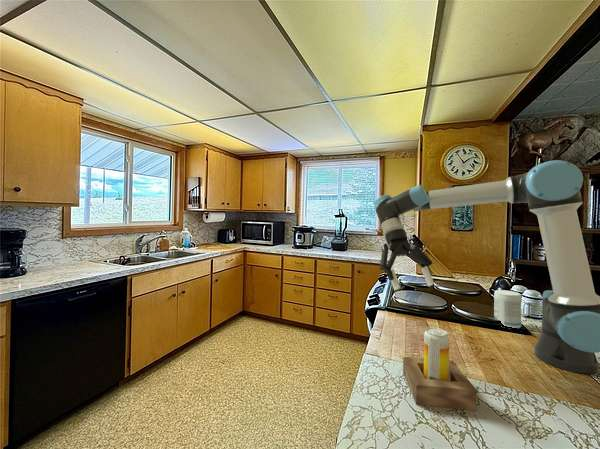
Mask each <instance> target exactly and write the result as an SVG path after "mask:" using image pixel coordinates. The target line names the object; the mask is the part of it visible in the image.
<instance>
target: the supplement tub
mask: <svg viewBox="0 0 600 449" xmlns="http://www.w3.org/2000/svg"><path fill="white" fill-rule="evenodd" d="M521 295H522V294H521V293H519V292H517V291H513V290H504V289H496V290H494V293H493V300H494V301H493V302H494V303H493V311H494V312H493V317H495V318H497V319H498V320H500V321H501V323H502V324H503V325H504V326H507V327H512V328H517V329H520V328H521V327H522V297H521Z"/></svg>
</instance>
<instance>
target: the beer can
mask: <svg viewBox="0 0 600 449" xmlns="http://www.w3.org/2000/svg"><path fill="white" fill-rule="evenodd" d="M423 358H424V377H425V379H431V380H443V381H449V360H450V359H449V358H450V336H449V334H448V332H447V331H446V330H444V329H442V328H437V327H427V328H426V329H425V331H424V333H423Z"/></svg>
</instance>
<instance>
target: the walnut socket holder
mask: <svg viewBox="0 0 600 449" xmlns="http://www.w3.org/2000/svg"><path fill="white" fill-rule="evenodd" d="M402 358H403V362H402V364H403V365H402V367H403V368H402V373H403V376H404V379H405V381H406V383H407V386H408V388H409V390H410V394H411V396H412V398H413V400H414V403H415V405H419V406H425V407H426V406H429V407H438V408H448V409H456V410H467V411H474V412H475V411H476V412H477V411H478V410H477V408H478V407H477V402H478V401H477V398H478V391H477V390H478V389H477V388H476V387H475V386H474V385H473V383H471V381H470V380H469V378H468V377H467V376H466V375H465V374H464V372H463V371H462V370H461V369H460V368H459V367H458V365H457V364H456V362H454V360H450V359H449V381H443V380H431V379H425V377H424V357H423V358H422V357H413V356H412V357H410V356H403V357H402Z"/></svg>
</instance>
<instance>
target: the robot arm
mask: <svg viewBox="0 0 600 449" xmlns="http://www.w3.org/2000/svg"><path fill="white" fill-rule="evenodd" d="M583 183H584V176H583V173H582V171H581V169H580V168H579V167H578V166H577V165H575V164H574V163H572V162H569V161H567V160H557V159H555V160H549V161H545V162H542V163H539V164H537V165H535V166H533V167H532V168H531V169H530V170H529V171H528V172H525V173H523V174H518V175H513V176H512V175H511V176H509V177H507V178H506V179H505V180H499V181H491V182H483V183H477V184H476V183H475V184H469V185H461V186H456V187H448V188H442V189H434V190H427V191H426V190H425V188H424V186H423V185H421V184H418V185H416V186H413V187H412V186H411V188H409V189H407V190H405V191H403V192H401V193H399V194H398V195H395V196H393V197H392V195H390V194H384V195H380V196H378V197H377V198H376V199H375V200H374V201H373V206H374V209H375V213H376V215H377V217H378V221H379V223H380V227H381V230H382V233H383V235H384V238H385V241H386V242H385V243H384V244H383V245H382V246H380V248H381V249H380V250H381V257H380V265H379V270H380V271H381V272H382V271H383V273H386V276H387V278H388V280H389V281H390V282H391V285H392V288H393V291H397V290H399V289H401V286H400V283H399V280H398V278H397V274H396V271H395V268H393V266H394V263H395V261H396V258H397V257H405V256H406V257H408V258H410V259H411V260H413V261H414V262H415V263H416V264H417V265H418V266H420V267H421V269H420V270H421V273H422V275H423V277H424V280H425V283H426V284H427V287H431V286H433V285H435V282H434V279H433V277H432V275H433V273H432V270H431V268H430V266H431V265H433V261H432V260H431V258H430V257H428V255H427V254H426V253H425V252H424V251H423V250H422V249H421V248H420V246H419V244H418V243H417V241H413V242H409V240H408V236H407V233H406V230H405V229H404V224H403V223H402V220H401V218H400V216H402V215H404V214H406V213H408V212H411V211H413V212H421V211H426V210H436V209H444V208H446V209H447V208H453V207H455V208H456V207H465V206H473V205H475V206H476V205H482V204H483V205H484V204H485V205H486V204H492V203H493V204H494V203H501V202H508V203H509V204H521V203H522V204H523V203H524V204H528V209H529V210H528V211H529V212H531V213H533V214H534V215H536V216H537V219H538V224H539V226H538V227H539V230H540V235H541V240H542V244H543V249H544V254H545V258H546V264H547V267H548V268H547V270H548V272H549V277H550V284H551V288H552V290H548V289H547V290H544V291H543V293H542V297H541V300H542V303H541V306H542V308H541V309H542V311H541V316H542V317H541V333H540V335H539V338H538V340H537V342H536V344H535V345H534V356H535V357H536V358H537V359H538V360H540V361H543V362H544V363H547V364H549V365H551V366H553V367H556V368H559V369H562V370H565V371H569V372H573V373H578V374H579V373H580V374H588V375H589V374H590V375H591V374H596V373H598V372H599V369H600V368H599V361H598V358H597V355H596V353H597V354H598V353H600V295H598V294H597V293H596V292H595V290H596V289H595V287H594V282H593V277H592V273H591V268H590V264H589V261H588V255H587V252H586V251H587V250H586V246H585V243H584V238H583V234H582V233H583V232H582V229H581V224H580V221H579V216H578V211H577V210H578V209H579V207H581V206H582V205H583V204H584V203H583V199H582V193H581V189H582V186H583ZM389 251H390V252H391V253H390V257H389V256H388V255H389ZM388 258H389V259H388ZM392 268H393V269H392Z"/></svg>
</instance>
